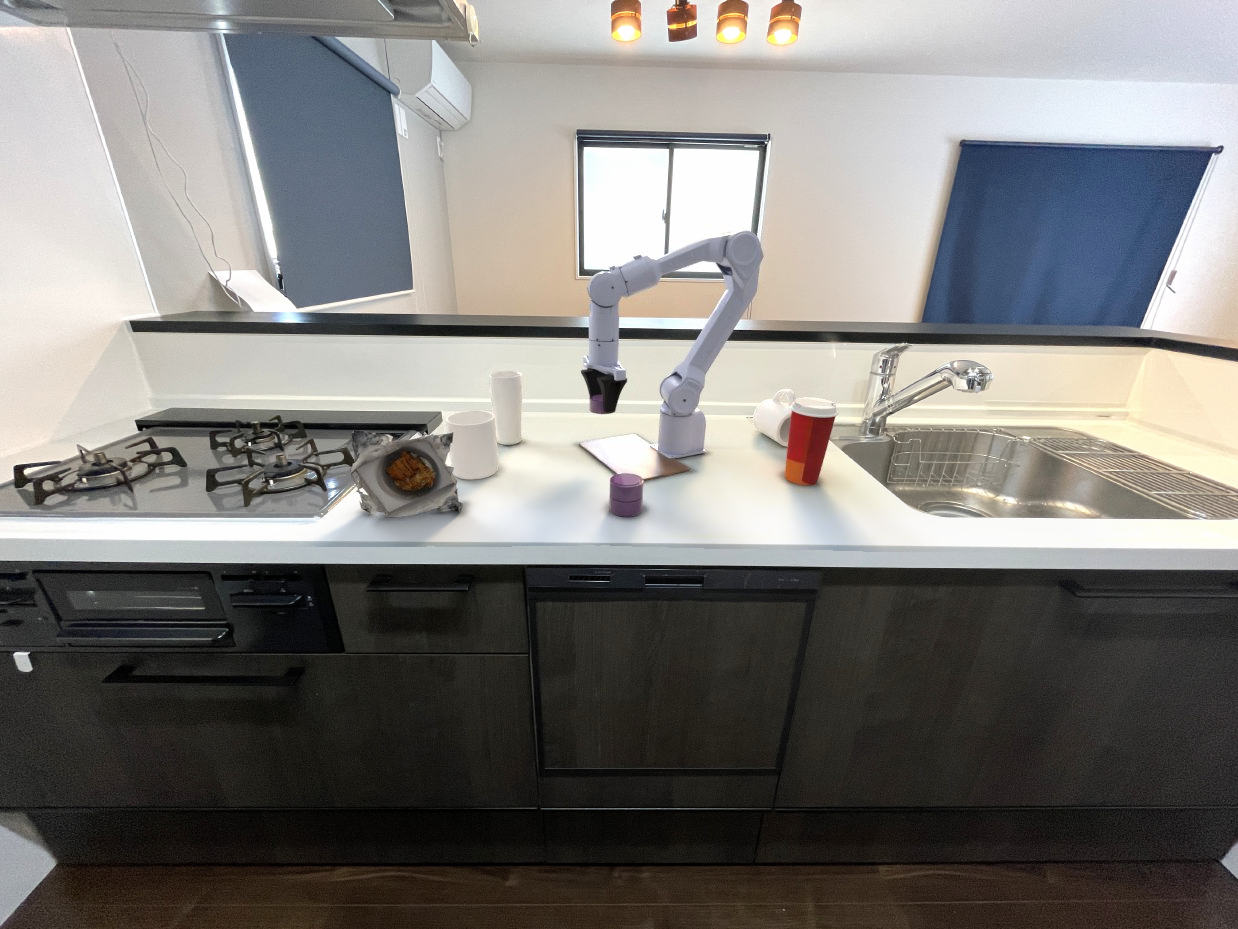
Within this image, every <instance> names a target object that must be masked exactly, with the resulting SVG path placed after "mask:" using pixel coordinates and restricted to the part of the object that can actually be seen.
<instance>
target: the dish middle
mask: <svg viewBox="0 0 1238 929" xmlns="http://www.w3.org/2000/svg"><path fill="white" fill-rule="evenodd" d="M610 496H611V497H612V498H613V499H615V500H618V501H622V502H632V501H636V500H639V499H640V498H642V496H643V497H644V481H643V478H642V477H640V476H638V475H636V474H631V473H620V474H614V475H612V476H611V477H610V478H609V497H610Z"/></svg>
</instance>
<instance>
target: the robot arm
mask: <svg viewBox="0 0 1238 929" xmlns="http://www.w3.org/2000/svg"><path fill="white" fill-rule="evenodd" d="M764 256H765V255H764V252H763V248H762V245H761V242H760V238H759V237H758V236H757V234H756V233H755V232H753V231H750V230H748V229H747V230H745V229H743V230H739V231H725V232H723V233H721V234H716V235H711V236H707V237H703V238H700V239H698V240H695V241H693V242H690V243H689V244H686V245H684V246H682V247H679V248H676V249H675V250H672V251H670V252H668V253H666V254H664V255H661V256H659V257H657V258H655V257H653V256H651V255H650V254H647V253H646V254H643V255H642V254H641V253H637V254H634V255H632V259H631V260H629V261H627V262H624V263H621V264H619V265H617V266H616V264H612V265H609V266H608V269H609V271H600V272H597V273H595V274H593V276H591V278H590V279H589V281H588V285H587V287H586V292H587V294H588V296H589V298H590V300H589V305H588V308H589V314H588V355H583V356H582V357H583V358H582V362H583V363H582V365H583V368H585V369H581V370H580V374H581V376H582V377H583V379H584V382H585V385H586V388H587V392H588V396H589V397H590V396H592V395H598V394H602V397H603V408H604V412H605V413H610V412H614V413H616V411H617V406H618V403H619V400H620V396H621V393H622V391H623V389H624V387H625V386H626V384H627V383H628V377H627V369H626V368H624V367H623V366H622V365H621V363H620V362H619V349H620V348H619V346H620V345H619V344H620V340H619V339H620V314H619V306H620V305H619V304H620V301H621V299H622V297H623V298H625V299H628V298H629V297H632V296H634V295H637V294H639V293H642V292H645V291H648V290H649V289H653V288H655V287H657V286H658V285H659V282H660V280H661V278H662V276H665V275H668V274H670V273H674V272H676V271H679V270H682V269H685V268H687V267H691V266H692V265H695V264H698V263H701V262H706V263H707V262H708V263H715V264H716V266H717V268H718V269H719V271H720V272H721V274H722V277H723V281H724V286H725V291H724V293H723V295H722V297H721V298H720V300H719V301H718V303H717V305H716V306H715V307H714V310H713V312H712V313H711V315H710V316H709V318H708V320H707V321H706V323H705V325H704V326H703V328H702V330H701V331H700V333H699V334H698V336H697V338H696V339H695V341H694V343H693V345H692V346H691V348H690V349H689V351H688V353H687V355H686V356H685V358H684V359H683V360H682V362H680V363H678V364H677V365H676V366H675V367H674V369H673V370H672V372H671V373H669V375H667V376H665V377H664V378H663V379H662V380H661V382H660V385H659V388H658V389H659V390H658V391H659V395H660V397H661V398H662V400H663V402H662V404H661V406H660V407H659V421H658V436H657V437H658V438H657V439H658V440H657V443H654V444H653V443H652V444H651V445H650V447H651V448H653V449H654V450H656V451H658V452H659V453H661V454H662V455H664V456H666V457H667V458H669V459H672V458H674V459H676V460H677V459H681V458H684V457H685V458H686V457H690V456H695V455H700V454H706V452H707V450H706V449H705V439H706V430H707V420H706V416H705V414H704V412H703V411H702V410H701V409H700V408H697V407H698V406H699V403H700V398H701V393H702V392H703V390H704V388H705V384H706V383H705V382H706V375H707V373H708V372H709V370H710V369H711V367H712V365H713V364H714V362H715V360H716V358H717V357H718V356H719V354H720V352H721V350H723V347H724V346H725V344H726V342H727V341H728V339H729V338H730V336H731V335H732V333H733V332H734V330H735V328H736V326H737V325H738V324H739V322H740V320H741V319H742V318H743V316H744V314H745V313H746V312H747V309H748V307H749V306H750V305H751V303H752V301H753V300H754V298H755V296H756V294H757V291H758V284H759V277H760V267H761V264H762V262H763V259H764ZM615 410H616V411H615Z"/></svg>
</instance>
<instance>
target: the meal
mask: <svg viewBox="0 0 1238 929" xmlns="http://www.w3.org/2000/svg"><path fill="white" fill-rule="evenodd" d="M351 439H352V440H351V446H352V449H353V457H354V463H352V466H351V470H349V471H350V476H351V479H352V480H353V482H354V485H355V487H356V489H357V490H355V492H356V493H357V494H359V497H360V500H359V506H360V509H361V510H363V511H365V512H367V513H368V514H376V513H382V514H384V515H385V518H386V519H387V518H389V519H390V518H401V517H410V516H415V515H420V514H422V513H423V514H424V513H426V512H430V511H437V512H441V511H449V510H452V511H456V512H458V513H461V512H462V510H463V509H462V508H463V505H464V504H463V502H461V501H459V494H458V492H459V490H458V488H457V484H458V480H457V479H456V476H455V475H454V474H453V470H454V467H451V465H450V466H449V465H447V464H446V463H447V459H448V454H449V451H450V446H451V443H452V442H453V432H452V433H448V434H447V433H442V434H434V433H432V434H427V433H425V434H424V435H421V436H419V437H417V438H411V439H397V440H393V439H394V436H392V435H391V434H388V433H376V432H370V431H365V430H361V429H360V430H359V429H357V430H356V429H354V430H353V431H351ZM354 473H356V475H357V476H358V477H359V478H358V480H357V478H356V477H355V476H354ZM361 489H362V490H364V492H365V493H366V494H365V493H364V492H363V491H361Z"/></svg>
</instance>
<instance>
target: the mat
mask: <svg viewBox="0 0 1238 929" xmlns="http://www.w3.org/2000/svg"><path fill="white" fill-rule="evenodd" d="M650 445H652V444H651V443H650V442H648V441H647V440H645V439H643V438H642V437H640V436H639V435H637V434H635V433H632V434H625V435H619V436H612V437H607V438H600V439H595V440H589V441H588V440H587V441H583V442H578V446H580V447H581V448H583V449H584V450H585V451H586V452H588V454H590V455H591V456H592V457H594V458H595V459H597V461H598V462H600V463H601V464H603V465H604V466H605V467H606V468H607V469H609V470H610V471H611V472H612V473H614V475H616V474H620V473H631V474H636V475H638V476H640V477H642V478H643V482H645V481H650V480H653V479H659V478H663V477H668V476H673V475H678V474H683V473H686V472H687V473H688V472H691V471H692V469H691V468H690V467H688V466H687V465H685V464H684V463H682V462H681V461H679V460H678V459H677V458H676V459H674V458H672V459H669V458H667V457H666V456H664V455H662V454H661V453H659V452H658V451H656V450H654V449H653V448H651V447H650Z"/></svg>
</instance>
